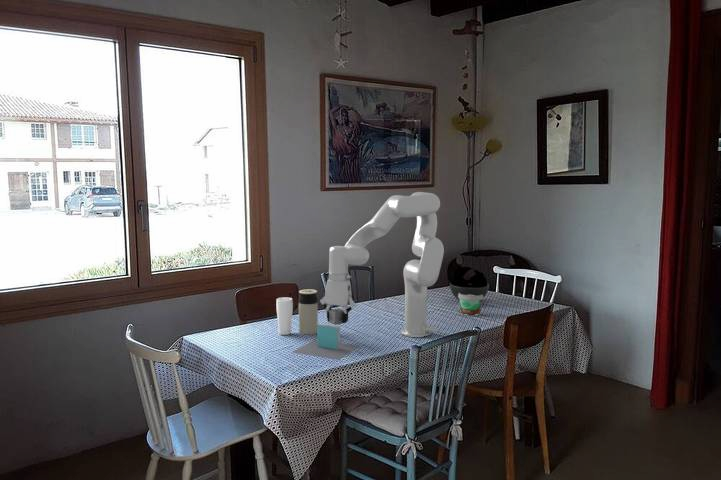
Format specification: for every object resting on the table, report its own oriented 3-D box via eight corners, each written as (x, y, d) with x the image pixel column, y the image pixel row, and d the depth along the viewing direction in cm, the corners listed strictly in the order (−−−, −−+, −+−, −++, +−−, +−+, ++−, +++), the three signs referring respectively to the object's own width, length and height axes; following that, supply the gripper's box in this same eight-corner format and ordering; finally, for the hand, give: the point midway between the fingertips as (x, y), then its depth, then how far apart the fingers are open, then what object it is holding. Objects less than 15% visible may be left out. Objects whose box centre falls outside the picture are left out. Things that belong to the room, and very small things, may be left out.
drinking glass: (279, 336, 244) (279, 301, 242) (274, 332, 250) (274, 298, 248) (295, 334, 248) (294, 299, 246) (289, 330, 253) (289, 296, 252)
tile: (340, 348, 228) (340, 325, 227) (337, 349, 226) (337, 327, 225) (319, 345, 232) (319, 323, 231) (317, 346, 230) (317, 324, 229)
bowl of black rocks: (449, 298, 318) (450, 263, 315) (486, 299, 315) (488, 264, 312) (449, 306, 298) (450, 270, 296) (489, 308, 295) (491, 271, 293)
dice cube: (334, 324, 232) (335, 312, 232) (327, 322, 236) (328, 309, 236) (345, 323, 235) (345, 310, 235) (338, 320, 239) (338, 308, 239)
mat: (359, 346, 232) (359, 345, 232) (339, 360, 215) (339, 359, 215) (314, 340, 240) (314, 339, 240) (291, 353, 223) (291, 352, 223)
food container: (454, 315, 282) (455, 294, 280) (457, 312, 287) (458, 292, 286) (480, 317, 277) (481, 297, 276) (483, 314, 283) (483, 294, 281)
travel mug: (310, 336, 246) (310, 293, 243) (295, 333, 250) (294, 291, 248) (321, 331, 252) (321, 290, 250) (306, 328, 257) (306, 288, 254)
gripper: (362, 277, 233) (360, 322, 236) (323, 273, 240) (322, 316, 243) (354, 280, 227) (352, 326, 229) (314, 276, 234) (313, 320, 236)
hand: (337, 321), depth 236 cm, fingers closed on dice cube, 6 cm apart
